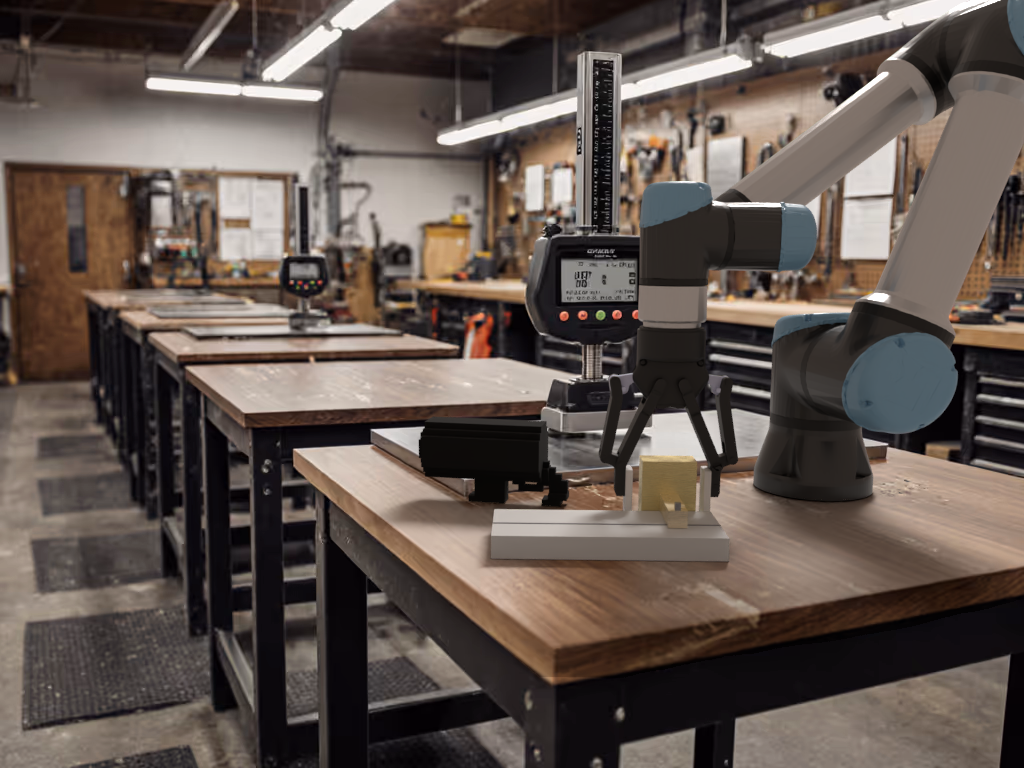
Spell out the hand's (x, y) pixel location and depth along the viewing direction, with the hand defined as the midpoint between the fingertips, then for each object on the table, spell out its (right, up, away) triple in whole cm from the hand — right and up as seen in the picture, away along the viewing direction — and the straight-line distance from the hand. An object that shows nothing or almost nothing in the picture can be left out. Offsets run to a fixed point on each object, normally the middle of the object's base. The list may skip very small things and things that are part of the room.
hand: (665, 523), depth 108 cm
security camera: (-20, +1, +11) cm, 22 cm away
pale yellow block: (0, -1, -4) cm, 4 cm away
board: (-8, -1, -7) cm, 11 cm away
